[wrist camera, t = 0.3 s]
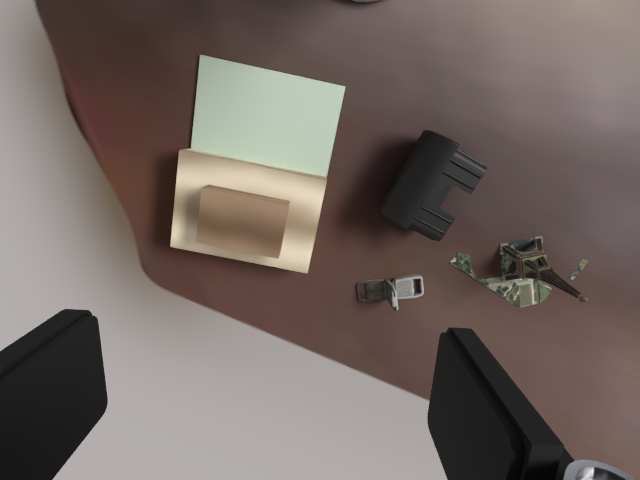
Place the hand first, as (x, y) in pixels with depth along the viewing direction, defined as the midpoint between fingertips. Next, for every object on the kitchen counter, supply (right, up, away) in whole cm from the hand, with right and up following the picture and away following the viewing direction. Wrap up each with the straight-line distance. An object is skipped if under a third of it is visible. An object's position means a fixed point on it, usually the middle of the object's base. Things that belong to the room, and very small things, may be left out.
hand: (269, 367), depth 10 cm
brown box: (-7, +6, +31) cm, 32 cm away
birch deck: (-7, +7, +35) cm, 36 cm away
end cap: (+13, +10, +34) cm, 38 cm away
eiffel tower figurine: (+26, +1, +37) cm, 46 cm away
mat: (-5, +17, +32) cm, 36 cm away
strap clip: (+10, -3, +38) cm, 40 cm away
